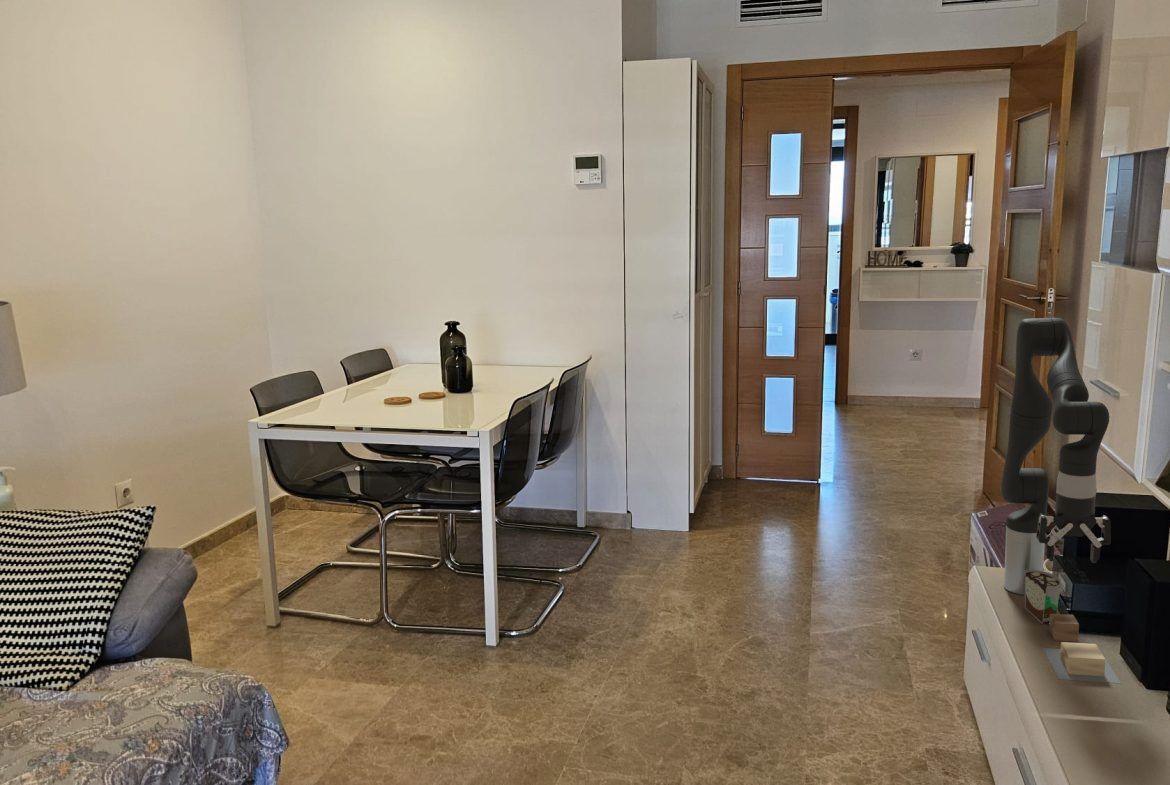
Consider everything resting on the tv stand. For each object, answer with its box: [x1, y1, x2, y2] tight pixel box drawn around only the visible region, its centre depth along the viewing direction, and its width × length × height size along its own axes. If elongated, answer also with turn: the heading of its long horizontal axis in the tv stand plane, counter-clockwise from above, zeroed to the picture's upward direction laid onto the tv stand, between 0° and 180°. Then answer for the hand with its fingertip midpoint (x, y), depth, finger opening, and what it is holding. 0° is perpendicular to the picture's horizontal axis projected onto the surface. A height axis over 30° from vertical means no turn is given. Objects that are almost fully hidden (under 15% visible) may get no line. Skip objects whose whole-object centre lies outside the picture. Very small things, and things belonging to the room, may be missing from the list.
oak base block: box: [1060, 641, 1106, 676], centre depth 196 cm, size 7×7×4 cm
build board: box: [1042, 647, 1122, 684], centre depth 198 cm, size 14×12×1 cm
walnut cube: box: [1048, 613, 1080, 642], centre depth 211 cm, size 5×5×5 cm
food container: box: [1024, 570, 1064, 625], centre depth 222 cm, size 12×6×10 cm, turn 179°
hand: (1071, 560), depth 197 cm, fingers open, 8 cm apart
